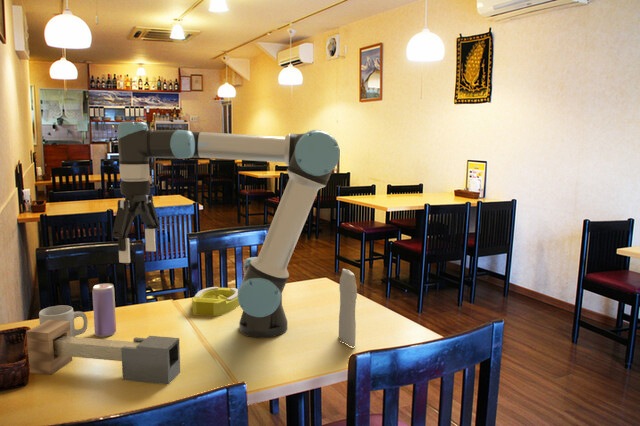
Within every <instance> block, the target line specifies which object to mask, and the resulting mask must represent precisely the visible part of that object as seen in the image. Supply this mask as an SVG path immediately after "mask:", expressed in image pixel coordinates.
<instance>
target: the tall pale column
mask: <svg viewBox="0 0 640 426" xmlns="http://www.w3.org/2000/svg"><path fill="white" fill-rule="evenodd" d="M356 283H357V282H356V276H355V274H354V272H352V271H351V270H350V269H346V268H342V270H341V275H340V278H339V287H338V288H339V293H340V294H339V313H338V315H339V316H338V338H339V337H340V339H339V342H340V341H341V342H344V343H346V344H348V345H349V346H352V347H354V346H355V347H356V334H357V333H356V331H357V330H356V328H357V323H356V306H357V304H356V303H357V301H356V300H357V298H358V285H357V284H356Z"/></svg>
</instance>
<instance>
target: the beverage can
mask: <svg viewBox="0 0 640 426" xmlns="http://www.w3.org/2000/svg"><path fill="white" fill-rule="evenodd" d="M115 298H116V297H115V287H114V284H113V283H98V284H95V285H94V286H93V287H92V306H93V307H92V308H93V309H92V310H93V324H94V325H93V327H94V334H95V335H96V336H97V337H99V338H107V337H111V336H113V335H115V333H116V332H117V317H116V301H115Z"/></svg>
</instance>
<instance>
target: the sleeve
mask: <svg viewBox="0 0 640 426" xmlns="http://www.w3.org/2000/svg"><path fill="white" fill-rule="evenodd" d="M132 342H140V344H138V345H137V346H136V347H125V346H123V347H122V348H121V354H122V361H121V369H122V381H127V382H128V381H129V382H139V383H148V384H158V385H167V384H169V383H170V382H171V381H172V382H173V380H175V378H176V377H177V376H178V375H179V374H180V373H181V355H180V353H181V351H180V350H181V349H180V337H172V336H171V337H170V336H169V337H168V336H159V335H158V336H157V335H148V336H147V337H134V338H133V341H132ZM172 382H171V383H172ZM171 383H170V384H171ZM170 384H169V385H170Z"/></svg>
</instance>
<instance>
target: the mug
mask: <svg viewBox="0 0 640 426" xmlns="http://www.w3.org/2000/svg"><path fill="white" fill-rule="evenodd" d="M38 317H39V320H38V321H39V325H40V324H42V323H44V322H46V321H48V320H60V321H70V332H71V337H76V336H80V335H82V334H84V333H86V331H87V329H88V317H87V315H86V313H85V312H84V311H74V308H73V307H72V306H70V305H55V306H48V307H46V308H43V309H41V310H40V311H39V313H38ZM77 318H82V320H83V326H82V327H81V328H77V329H76V328H75V319H77Z"/></svg>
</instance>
